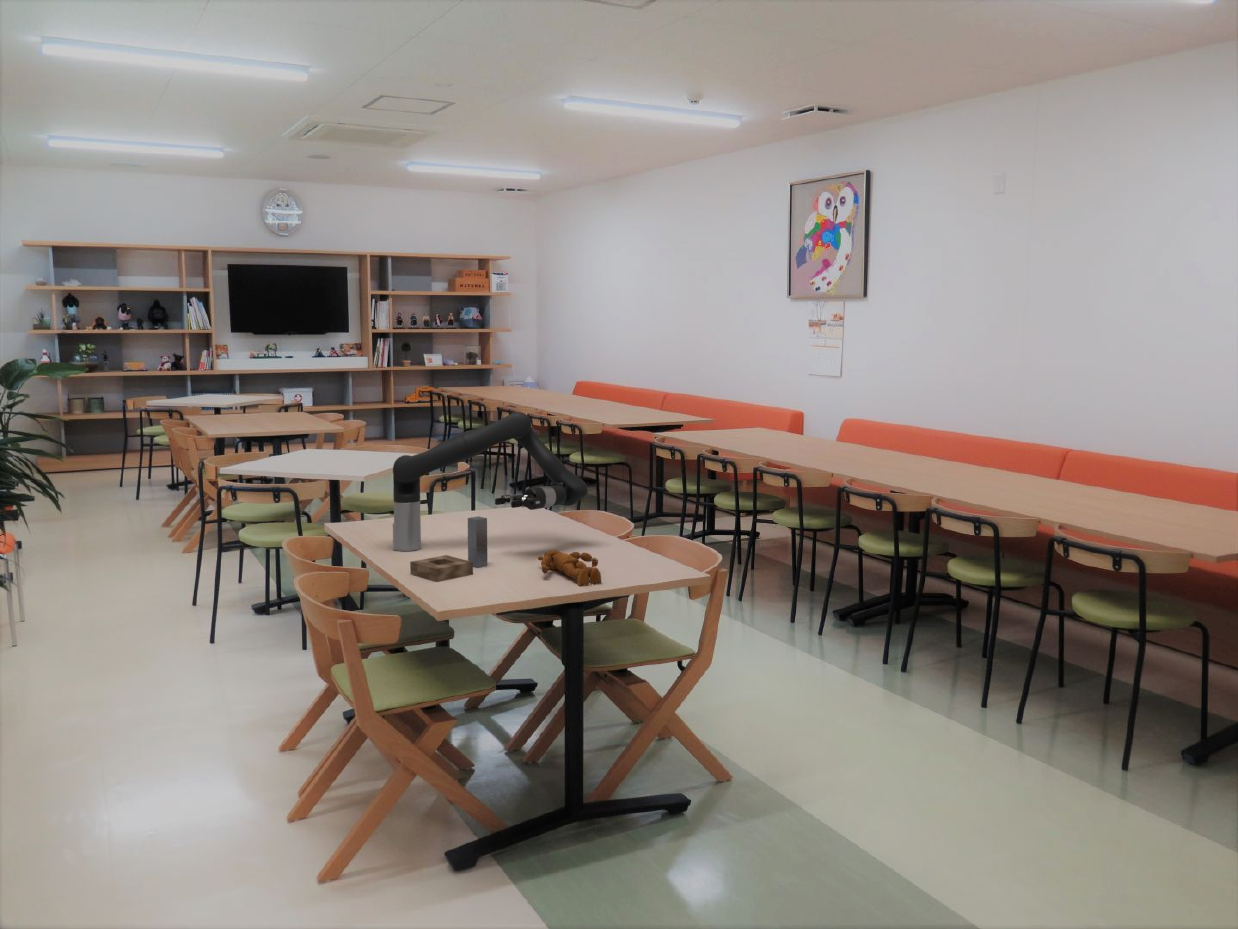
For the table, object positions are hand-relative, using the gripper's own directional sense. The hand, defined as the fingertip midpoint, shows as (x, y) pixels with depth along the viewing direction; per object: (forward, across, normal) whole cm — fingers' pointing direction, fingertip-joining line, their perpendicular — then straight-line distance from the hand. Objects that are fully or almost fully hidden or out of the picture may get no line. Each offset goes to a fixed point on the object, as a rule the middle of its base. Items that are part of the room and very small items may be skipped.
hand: (503, 503), depth 330 cm
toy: (-1, +30, +20) cm, 36 cm away
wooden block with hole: (+27, +1, +20) cm, 33 cm away
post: (+11, 0, +20) cm, 23 cm away
